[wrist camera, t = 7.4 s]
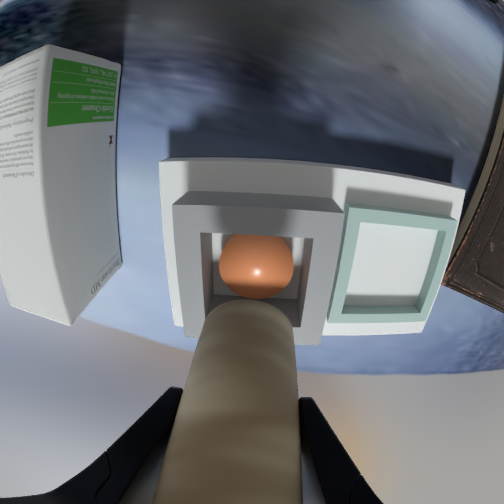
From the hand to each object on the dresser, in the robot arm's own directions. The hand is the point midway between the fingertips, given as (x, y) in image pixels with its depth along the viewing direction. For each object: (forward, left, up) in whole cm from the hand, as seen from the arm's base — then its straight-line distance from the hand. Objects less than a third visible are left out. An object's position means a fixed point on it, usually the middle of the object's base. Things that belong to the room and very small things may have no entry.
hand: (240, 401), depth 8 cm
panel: (-4, 0, -12) cm, 13 cm away
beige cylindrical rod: (0, 0, -3) cm, 3 cm away
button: (0, 0, -10) cm, 10 cm away
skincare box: (+13, -14, -8) cm, 20 cm away
